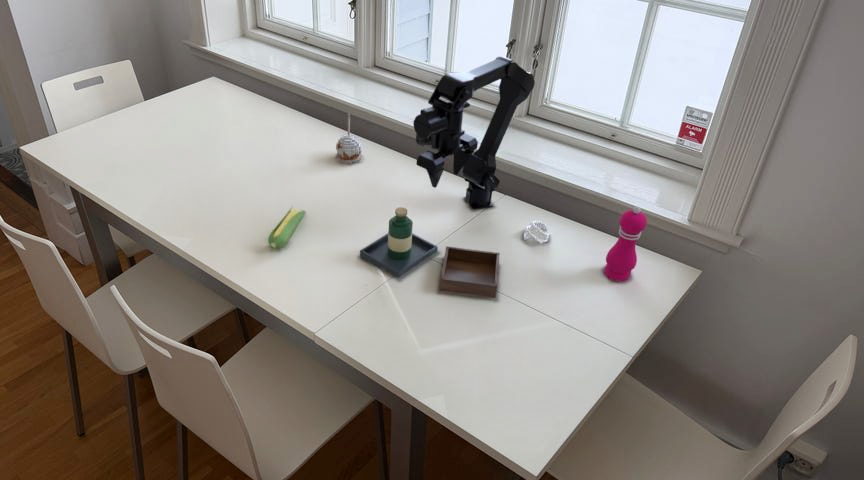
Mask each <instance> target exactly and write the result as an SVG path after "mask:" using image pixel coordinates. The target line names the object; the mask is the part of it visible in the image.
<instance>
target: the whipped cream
mask: <svg viewBox="0 0 864 480" xmlns="http://www.w3.org/2000/svg"><path fill="white" fill-rule="evenodd" d="M550 234H551V233H550V231H549V228H548V226H547V224H545V223H544V222H542V221H539V220H533V221H531V223H530V224H529V225H527V226H526V228H525V230H524V233H523V240H524V241H527V240H528V239H533V240H535V241H537V242H538V243H539V244H543V243H546V242H548V240H549V238H550V237H549V236H550Z"/></svg>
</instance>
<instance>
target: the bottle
mask: <svg viewBox="0 0 864 480" xmlns="http://www.w3.org/2000/svg"><path fill="white" fill-rule="evenodd" d="M394 214H395V215H394V216H393V217H391V218H390V219H389V221H388V233H387V234H388V255H389V256H390V257H391V258H393V259H396V260H404V259H407V258H408V257H409V256H410V255H411V244H412V233H413V224H414V223H413V220H412V219H411V218H409V216H407V215H408V209H407V208H406V207H404V206H403V207H402V206H400V207H397V208H395V210H394Z"/></svg>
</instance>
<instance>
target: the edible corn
mask: <svg viewBox="0 0 864 480" xmlns="http://www.w3.org/2000/svg"><path fill="white" fill-rule="evenodd" d="M293 207H294V205H292V206H291V208H290V209H289V210H288V211H287V213H286V214H285V215H284V216H283V218H282V219H281V220H280V221H279V222H278V223H277V225H276V226H274V228H273V229H272V230H271V232H270V234H269V236H268V239H267V244H268V245H269V246H270V247H271V248H274V249H283V248H285V247H286V246H287V245H288V243H289V241H290V240H291V238H292V236H293V234H294V232H295V231H296V229H297V227H298V225H299V224H300V222H301V221H302V218H303V217H304V216H305V214H306V210H301V211H299V209H293Z"/></svg>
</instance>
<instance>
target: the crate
mask: <svg viewBox="0 0 864 480" xmlns="http://www.w3.org/2000/svg"><path fill="white" fill-rule="evenodd" d="M500 255H501V254H500V252H495V251H488V250H481V249H472V248H471V249H470V248H462V247H455V246H447V245H446V246H445V251H444V256H443V262H442V268H441V273H440V279H439V290H438V291H441V292H449V293H454V294H455V293H456V294H462V295H463V294H465V295H470V296H479V297H485V298H493V299H496V297H497V290H498V285H499V284H498V283H499V268H500Z"/></svg>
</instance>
